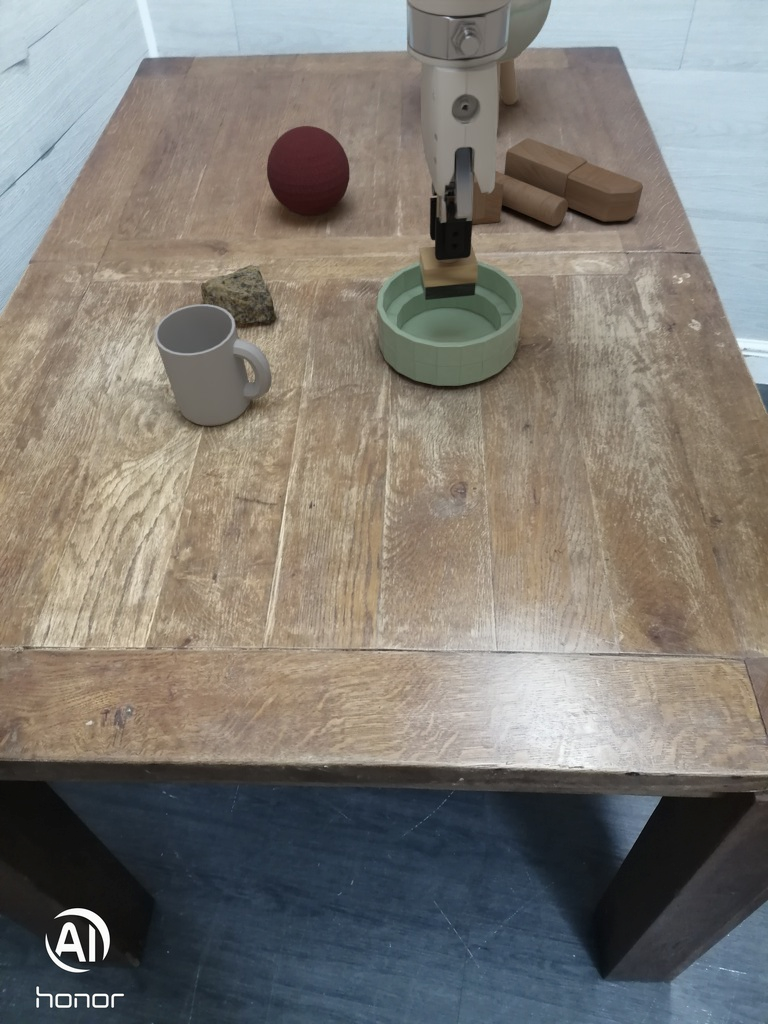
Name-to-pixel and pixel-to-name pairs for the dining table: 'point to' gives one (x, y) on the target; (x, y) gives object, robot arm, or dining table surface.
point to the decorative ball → (308, 171)
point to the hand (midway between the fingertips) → (449, 245)
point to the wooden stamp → (447, 272)
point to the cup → (210, 364)
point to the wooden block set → (555, 187)
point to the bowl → (449, 328)
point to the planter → (519, 42)
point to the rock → (241, 295)
